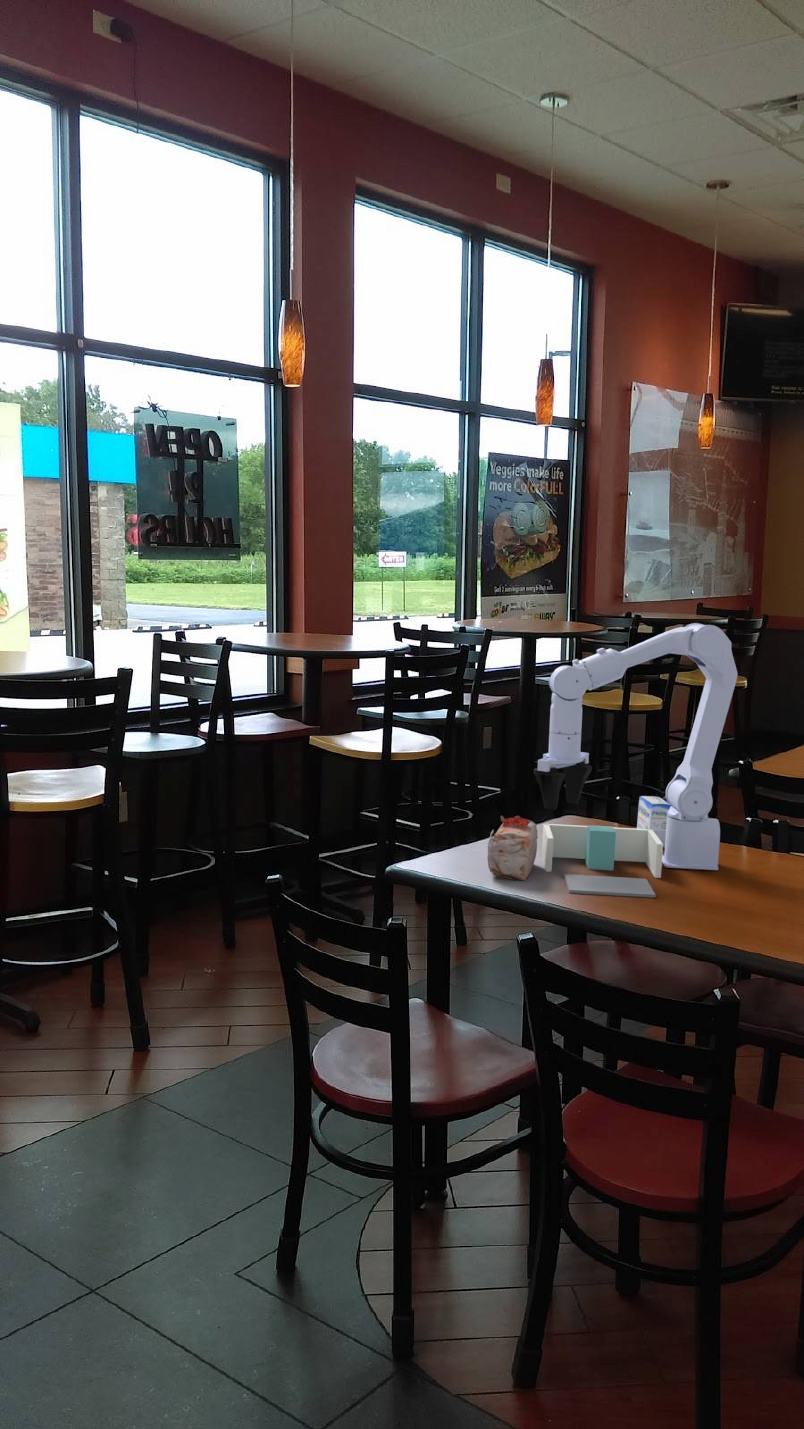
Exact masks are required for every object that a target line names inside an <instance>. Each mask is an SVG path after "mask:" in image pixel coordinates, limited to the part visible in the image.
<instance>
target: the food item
mask: <svg viewBox="0 0 804 1429" xmlns="http://www.w3.org/2000/svg"><path fill="white" fill-rule="evenodd" d="M500 821H501V822H502V824H501V825H500V826H499V828H498V829H497V831H496V832H495V833H494V829H492V831H491V832H490V836H489V838H488V842H487V856H486V857H487V867H488V870H489V872H490V873H492V876H496V877H498V878H502V879H508V878H510V879H509V880H515V879H516V880H517V881H526V880H527V878H528V877H529V875H530V873H531V871H532V868H533V866H534V864H535V860H536V857H537V850H538V829H537V826H538V824H537V823H535V822H534V821H532V820H529V819H527V818H524V817H521V816H520V815H516V816H514V817H507V818H505V817H504V816H503V815H501V816H500Z"/></svg>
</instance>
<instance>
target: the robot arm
mask: <svg viewBox="0 0 804 1429" xmlns="http://www.w3.org/2000/svg"><path fill="white" fill-rule="evenodd" d="M668 654H672V655H682V656H687V658H689V659H690V660H692V661H693V662H694V663H696V664H697V666H698V667H697V668H699V670H700V671H701V673H702V674H703V676H704V677H705V681H704V685H703V690H702V692H701V696H700V701H699V703H698V707H697V711H696V714H695V719H694V722H693V727H692V729H691V732H690V736H689V740H688V744H687V747H686V750H685V754H684V757H683V761H682V763H681V764H680V765H679V766H678V767H677V769H676V772H675V775H674V777H673V778H672V779H671V781H669V783H668V784H667V786H666V789H665V799H666V802H668V803H669V804H670V805H671V807H670V809H669V811H668V812H667V824H666V838H665V847H664V851H663V852H664V854H662V865H664V867H665V868H667V869H668V868H671V869H685V870H686V869H688V870H705V871H719V854H720V841H721V827H720V826H721V825H720V821H719V819H717V818H711V817H709V815H708V814H709V812H711V809H712V807H713V803H714V802H713V795H712V787H713V784H714V781H713V780H714V779H713V772H712V768H713V764H714V761H715V758H716V754H717V750H718V746H719V744H720V740H721V737H722V733H723V729H724V726H725V723H726V718H727V715H728V712H729V709H730V705H731V702H732V698H733V693H734V690H735V686H736V684H737V681H738V680H737V679H738V670H737V667H736V663H735V660H734V656H733V651H732V641H731V640H730V639H729V637H728V636H727V635H726V633H725V632H724V631H723V630H722V629H721V628H720V627H718V626H716V625H713V624H702V623H698V622H694V623H690V624H689V623H688V624H687V625H686V626H680V627H675V628H672V629H670V630H667V631H665V632H663V633H660V634H657V635H655V636H653V637H650V638H648V639H646V640H644V641H642V642H639V643H637V644H635V645H633V646H630V647H628V648H626V649H623V650H621V651H618V650H616V649H613V648H608V649H606V648H604V647H601V648H598V649H596V653H595V654H592V655H590V656H587V657H585V658H582V659H578V658H575V659H573V660H572V661H571V662H572V666H571V665H561V666H559V667H557V668H555V669H554V671H553V672H552V673H551V675H550V677H549V678H550V679H549V680H548V685H549V688H550V690H551V692H552V693H551V697H550V699H551V700H550V701H551V705H550V708H549V710H550V711H549V712H550V713H549V714H550V716H549V730H548V731H549V734H548V752H546V753H543V754H542V758H540V759H538V760H537V768H533V769H534V770H533V775H534V776H535V778H536V780H537V783H538V786H539V788H540V792H541V796H542V801H543V806H544V809H546V810H550V811H551V810H552V811H555V810H556V811H557V808H558V805H559V798H560V792H561V787H562V785H563V781H564V786H565V802H566V803H567V804H571V805H579V802H580V799H581V796H582V792H583V789H584V786H585V784H586V782H587V779H588V777H589V776H590V774H591V773H592V770H593V766H592V765H588V764H589V762H590V761H589V759H590V758H589V756H590V753H589V752H583V751H581V746H582V745H581V743H582V727H583V726H582V725H583V722H582V721H583V696H584V694H585V693H586V691H587V690H588V691H592V690H595V689H598V688H600V687H602V686H605V685H607V684H609V683H612V682H615V681H617V680H619V679H622V678H623V676H624V675H625V673H626V671H627V670H628V668H631V667H634V666H637V665H640V664H643V663H645V662H647V661H651V660H653V659H656V658H660V657H663V656H665V655H668ZM557 769H561V770H562V772H559V771H558V770H557Z"/></svg>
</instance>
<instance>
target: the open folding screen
mask: <svg viewBox="0 0 804 1429" xmlns="http://www.w3.org/2000/svg"><path fill="white" fill-rule="evenodd" d="M612 827H613V828H614V830H615V831H616V838H615V853H614V862H616V861H617V862H637V863H645V864H646V866H647V867H648V869H649V871H650V872H651V873H652V875H653V877H654V878H655V879H661V878H662V868H663V866H662V865H663V863H662V855H664V854H663V852H664V851H663V849H664V847H663V844H662V842H661V841H660V839H659V838H658V837H657V835H656V834H655V833H654V831H653V830H652V829H637V828H636V827H635V828H633V827H631V828H630V827H614V826H612ZM587 830H588V825H577V824H576V825H574V824H560V823H559V824H555V823H543V824H542V840H541V843H542V844H541V858H542V862H543V866H544V869H545V872H546V873H547V872H548V873H552V867H553V858H561V859H563V858H565V859H582V860H586V846H587Z"/></svg>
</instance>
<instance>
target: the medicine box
mask: <svg viewBox="0 0 804 1429" xmlns="http://www.w3.org/2000/svg"><path fill="white" fill-rule="evenodd" d="M638 799H639V800H638V809H637V811H638V812H637V824H636V829H652V830H653V831H654V833H655V834H656V835H657V837H658V838H659V839H660V841H661V842H662V844H663V848H665V838H666V824H667V812H668V811H669V809H670V807H671V805H670V804H669V803H668V801H667V800H664V799H663V798H661V797H660V796H653V795H650V796H649V795H648V796H647V795H641V796H639V798H638Z"/></svg>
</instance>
